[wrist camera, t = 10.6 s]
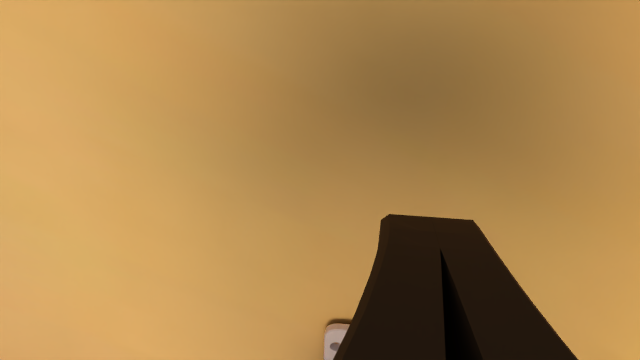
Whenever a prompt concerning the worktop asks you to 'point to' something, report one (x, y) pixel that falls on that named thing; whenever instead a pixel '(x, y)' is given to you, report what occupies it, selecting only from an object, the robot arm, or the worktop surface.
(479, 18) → the worktop surface
